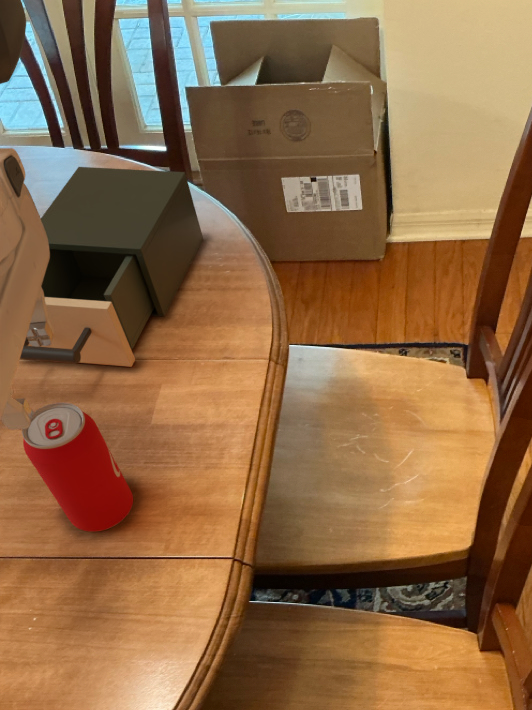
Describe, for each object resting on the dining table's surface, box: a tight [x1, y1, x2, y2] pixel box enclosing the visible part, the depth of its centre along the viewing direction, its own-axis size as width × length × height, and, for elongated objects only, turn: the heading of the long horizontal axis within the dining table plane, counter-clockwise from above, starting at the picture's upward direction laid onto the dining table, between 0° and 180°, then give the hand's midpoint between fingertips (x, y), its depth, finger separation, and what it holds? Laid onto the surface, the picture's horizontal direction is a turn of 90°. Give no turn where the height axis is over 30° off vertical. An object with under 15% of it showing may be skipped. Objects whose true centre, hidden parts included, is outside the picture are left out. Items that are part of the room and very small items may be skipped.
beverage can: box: [21, 401, 134, 533], centre depth 70 cm, size 6×6×12 cm
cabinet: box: [40, 166, 204, 317], centre depth 92 cm, size 16×14×10 cm
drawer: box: [20, 249, 155, 368], centre depth 85 cm, size 19×12×8 cm, turn 172°
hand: (33, 379), depth 61 cm, fingers open, 8 cm apart
